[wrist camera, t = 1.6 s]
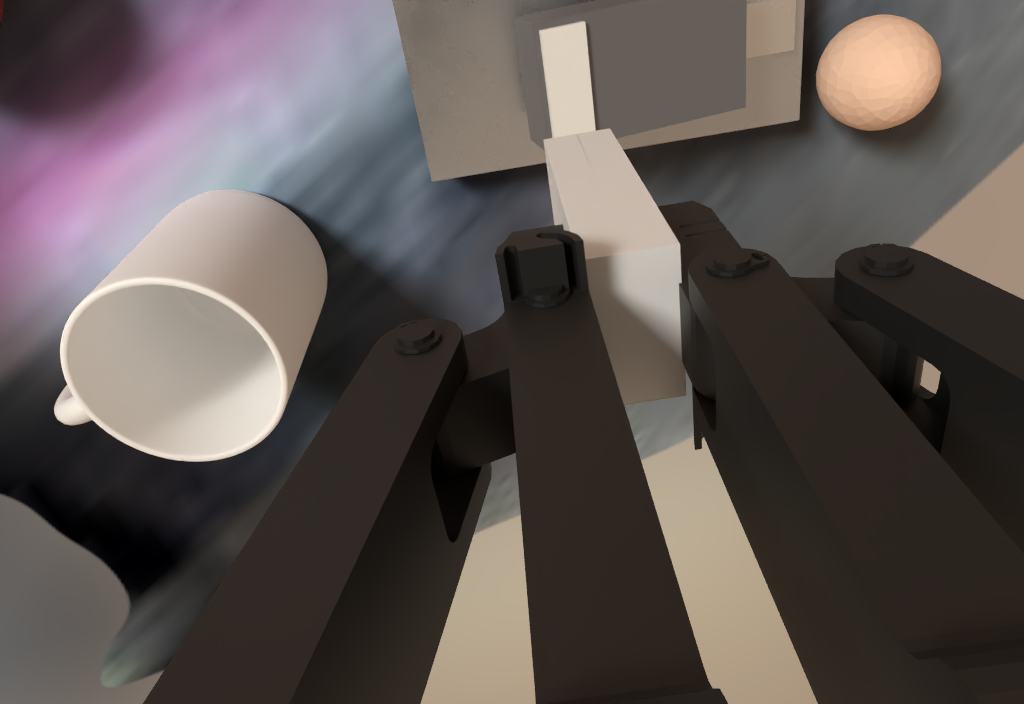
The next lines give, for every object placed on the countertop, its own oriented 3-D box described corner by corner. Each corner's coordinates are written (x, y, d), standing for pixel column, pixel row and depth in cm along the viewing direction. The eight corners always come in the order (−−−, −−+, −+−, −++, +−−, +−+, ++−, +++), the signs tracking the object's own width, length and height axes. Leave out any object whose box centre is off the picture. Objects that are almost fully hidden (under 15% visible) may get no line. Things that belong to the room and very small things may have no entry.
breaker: (530, 139, 29) (550, 155, 27) (513, 17, 27) (534, 24, 25) (714, 96, 31) (748, 108, 28) (713, -25, 28) (749, -22, 26)
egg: (919, 41, 33) (997, 65, 28) (850, 130, 35) (911, 167, 30) (845, -14, 32) (913, 1, 27) (777, 81, 33) (829, 112, 29)
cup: (362, 295, 38) (330, 412, 29) (175, 389, 40) (94, 523, 32) (263, 153, 34) (191, 238, 25) (61, 267, 36) (-67, 380, 28)
